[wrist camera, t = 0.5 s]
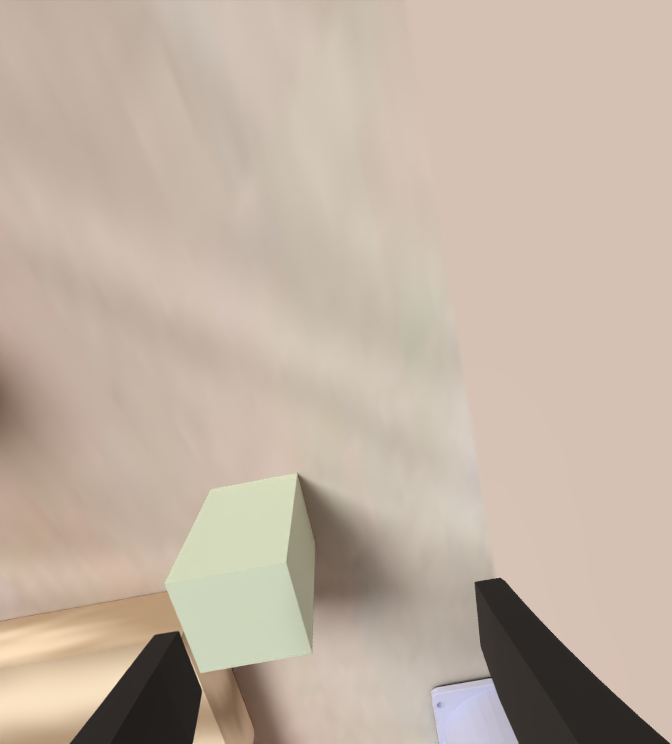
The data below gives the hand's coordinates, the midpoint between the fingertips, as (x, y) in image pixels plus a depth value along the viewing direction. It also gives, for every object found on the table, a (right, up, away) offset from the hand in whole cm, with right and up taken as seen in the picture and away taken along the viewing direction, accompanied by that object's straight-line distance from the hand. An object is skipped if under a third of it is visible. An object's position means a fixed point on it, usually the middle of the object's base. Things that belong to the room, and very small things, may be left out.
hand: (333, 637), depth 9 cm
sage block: (-4, -1, +11) cm, 12 cm away
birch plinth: (-12, -12, +14) cm, 22 cm away
